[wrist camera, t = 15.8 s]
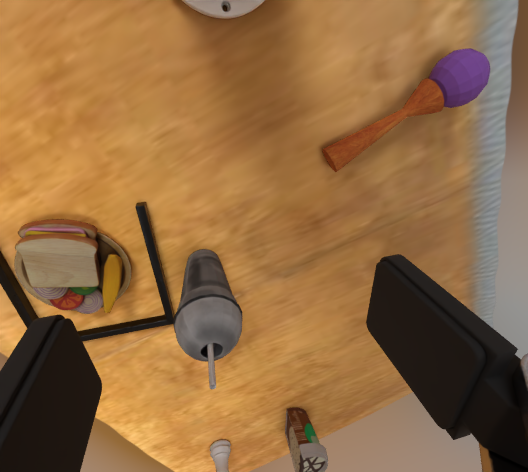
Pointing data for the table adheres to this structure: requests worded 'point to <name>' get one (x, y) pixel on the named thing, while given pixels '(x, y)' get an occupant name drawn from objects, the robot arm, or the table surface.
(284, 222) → the table surface
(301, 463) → the food container
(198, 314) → the beverage cup
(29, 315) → the frame
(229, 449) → the rook chess piece
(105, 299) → the toy sandwich meal
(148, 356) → the table surface
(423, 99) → the purple maraca
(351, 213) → the table surface
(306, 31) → the table surface
